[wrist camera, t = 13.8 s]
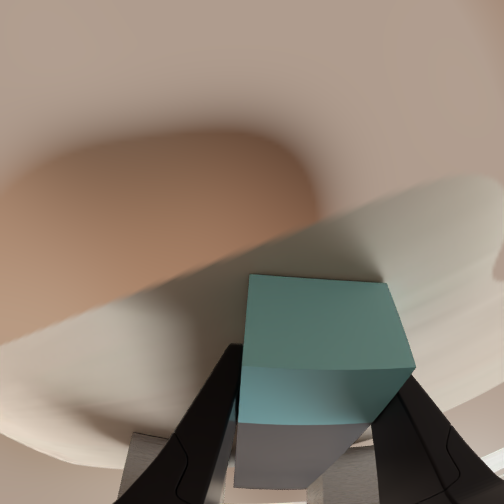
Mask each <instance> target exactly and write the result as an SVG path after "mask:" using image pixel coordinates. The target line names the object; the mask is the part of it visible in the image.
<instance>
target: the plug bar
mask: <svg viewBox="0 0 504 504" xmlns="http://www.w3.org/2000/svg"><path fill="white" fill-rule="evenodd" d="M415 368H416V365H415V362H414V358H413V355H412V352H411V349H410V346H409V343H408V340H407V337H406V334H405V331H404V329H403V326H402V323H401V320H400V317H399V315H398V312H397V309H396V306H395V304H394V301H393V299H392V296H391V293H390V291H389V288H388V286H387V283H373V282H356V281H340V280H325V279H310V278H296V277H282V276H268V275H255V274H250V276H249V287H248V299H247V311H246V323H245V335H244V347H243V359H242V372H241V386H240V401H239V415H238V430H237V444H236V458H235V474H234V488H248V489H275V490H277V489H278V490H279V489H280V490H283V489H284V490H285V489H286V490H289V489H290V490H291V489H292V490H294V489H306V488H307V487H309V486H310V485H311V484H312V483H313V482H314V481H315V480H316V479H318V478H319V477H320V476H321V475H322V474H323V473H324V472H325V471H326V470H327V469H328V468H329V467H330V466H331V465H332V464H333V463H334V462H335V461H336V460H337V459H338V458H339V457H340V456H341V455H342V454H343V453H344V452H345V451H346V450H347V449H348V448H349V447H350V446H351V445H352V444H353V443H354V442H355V441H356V440H357V439H358V438H359V437H360V436H361V435H362V433H363V432H364V431H365V430H366V429H367V428H368V427H369V426H370V425H371V423H372V422H373V421H374V420H375V419H376V418H377V416H378V415H379V414H380V413H381V412H382V411H383V409H384V408H385V407H386V406H387V405H388V403H389V402H390V401H391V400H392V398H393V397H394V396H395V395H396V393H397V392H398V391H399V389H400V388H401V387H402V386H403V384H404V383H405V382H406V380H407V379H408V378H409V376H410V375H411V374H412V372H413V371H414V370H415Z"/></svg>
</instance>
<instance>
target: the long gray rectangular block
mask: <svg viewBox="0 0 504 504" xmlns="http://www.w3.org/2000/svg"><path fill="white" fill-rule="evenodd" d="M167 441H168V439H164V438H158V437H153V436H148V435H143V434H138V433H133V435H132V438H131V442H130V446H129V450H128V454H127V459H126V463H125V467H124V471H123V476H122V480H121V484H120V489H119V493H118V498H119V497H120V496H121V495H122V494H123V493H124V492H125V491H126V490H127V489H128V488H129V487H130V486H131V485H132V484H133V483H134V482H135V480H136V479H137V478H138V477H139V476H140V475H141V474H142V473H143V472H144V471H145V470H146V468H147V467H148V466H149V465H150V464H151V462H152V461H153V460H154V459H155V458H156V456H157V455H158V454H159V452H160V451H161V450H162V448H163V447H164V445H165V444H166V442H167ZM226 471H227V470H226ZM225 481H226V475H225V479H224V483H223V488H222V492H221V497H220V501H219V504H223V503H224V492H225ZM118 498H117V499H118ZM307 504H379V491H378V480H377V470H376V460H375V451H374V445H372V446H363V447H353V448H352V447H351V448H348V449H347V450H346V451H345V452H344V453H343V454H342V455H341V456H340V457H339V458H338V459H337V460H336V461H335V462H334V463H333V464H332V465H331V466H330V467H329V468H328V469H327V470H326V471H325V472H324V473H323V474H322V475H321V476H320V477H319V478H318V479H316V480H315V481H314V482H313V483H312V484H311V485H310V486H309V487H307Z"/></svg>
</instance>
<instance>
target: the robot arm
mask: <svg viewBox="0 0 504 504" xmlns="http://www.w3.org/2000/svg"><path fill="white" fill-rule="evenodd" d="M243 347H244V345H243V344H238V343H230V344H229V345H228V347H227V348H226V350H225V352H224V353H223V355H222V356H221V358H220V360H219V361H218V363H217V364H216V366H215V368H214V369H213V371H212V372H211V374H210V376H209V377H208V379H207V380H206V382H205V384H204V385H203V387H202V388H201V390H200V392H199V393H198V395H197V396H196V398H195V399H194V401H193V403H192V404H191V406H190V407H189V409H188V410H187V412H186V413H185V415H184V417H183V418H182V420H181V421H180V423H179V424H178V426H177V427H176V429H175V431H174V432H175V433H172V435H171V436H170V438H169V439H168V441H167V442H166V444H165V445H164V447H163V448H162V450H161V451H160V452H159V454H158V455H157V456H156V458H155V459H154V460H153V461H152V462H151V464H150V465H149V466H148V467H147V468H146V470H145V471H144V472H143V473H142V474H141V475H140V476H139V477H138V478H137V479H136V480H135V482H134V483H133V484H132V485H131V486H130V487H129V488H128V489H127V490H126V491H125V492H124V493H123V494H122V495H121V496H120V497H119V498H118V499H117V500H116V501H115V502H114V503H113V504H219V501H220V497H221V492H222V488H223V483H224V479H225V475H226V470H227V466H228V461H229V457H230V452H231V448H232V443H233V438H234V434H235V429H236V425H237V420H238V415H239V401H240V386H241V372H242V359H243ZM371 428H372V435H373V443H374V451H375V460H376V470H377V480H378V491H379V504H504V480H502V479H501V478H499V477H498V476H497V475H496V474H495V473H494V472H493V471H492V470H491V469H490V468H489V467H488V466H487V465H486V464H485V463H484V462H483V461H482V460H481V459H480V458H479V457H478V456H477V454H476V453H475V452H474V451H473V450H472V449H471V448H470V447H469V446H468V445H467V443H466V442H465V441H464V440H463V438H462V437H461V436H460V435H459V434H458V432H457V431H456V430H455V428H454V427H453V426H452V425H451V423H450V422H449V421H448V420H447V418H446V417H445V416H444V414H443V413H442V412H441V411H440V409H439V408H438V407H437V405H436V404H435V403H434V402H433V400H432V399H431V398H430V397H429V395H428V394H427V393H426V392H425V390H424V389H423V388H422V387H421V385H420V384H419V383H418V382H417V381H416V379H415V378H414V377H413V376H412V374H411V375H410V376H409V378H408V379H407V380H406V382H405V383H404V384H403V386H402V387H401V388H400V389H399V391H398V392H397V393H396V395H395V396H394V397H393V398H392V400H391V401H390V402H389V403H388V405H387V406H386V407H385V408H384V409H383V411H382V412H381V413H380V414H379V415H378V416H377V418H376V419H375V420H374V421H373V422H372V423H371Z"/></svg>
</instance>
